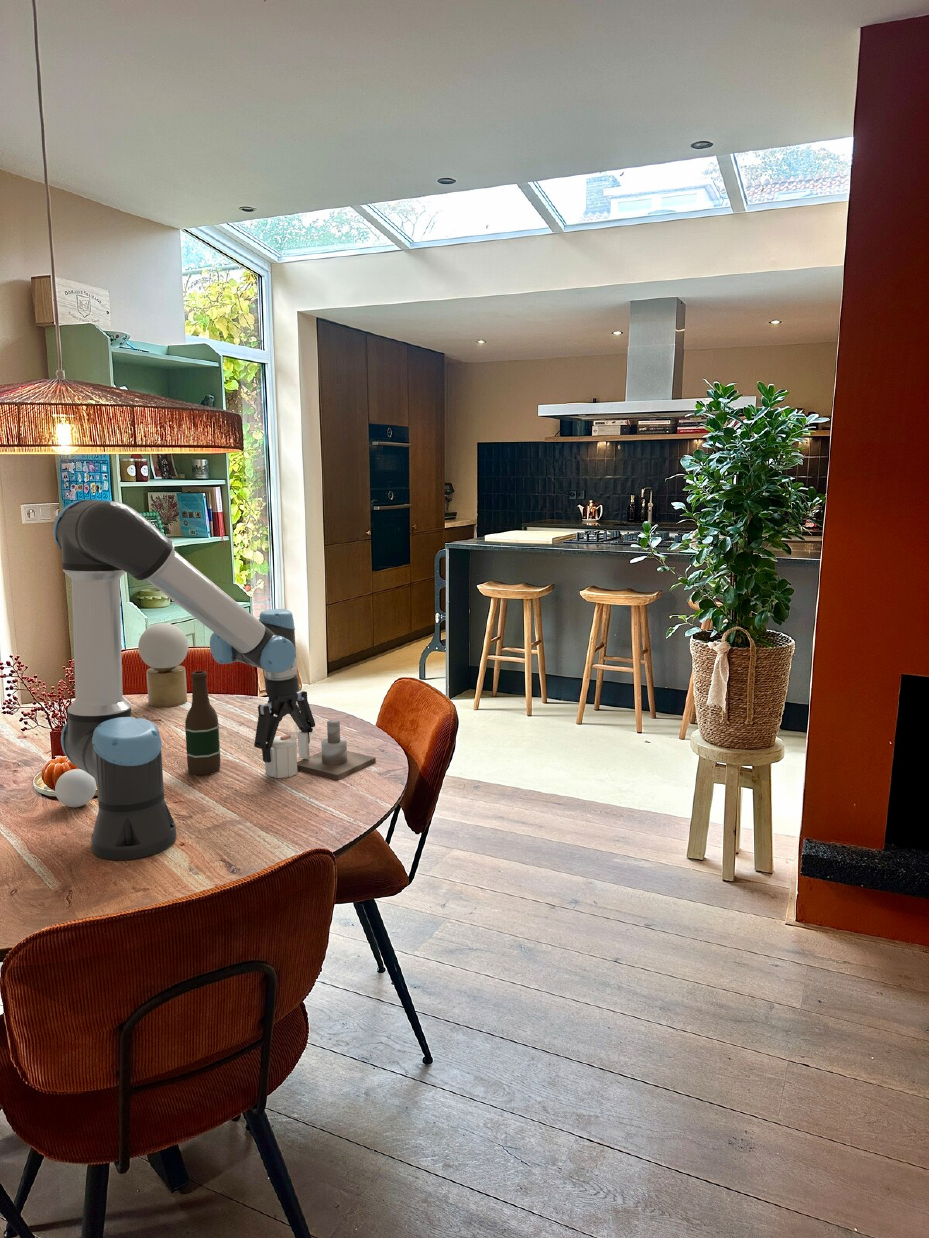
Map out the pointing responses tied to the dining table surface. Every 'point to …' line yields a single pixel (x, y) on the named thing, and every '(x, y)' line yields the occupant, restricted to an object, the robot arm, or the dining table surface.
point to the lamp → (164, 664)
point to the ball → (75, 788)
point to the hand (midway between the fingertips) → (288, 765)
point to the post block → (334, 756)
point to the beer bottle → (202, 730)
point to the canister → (285, 756)
